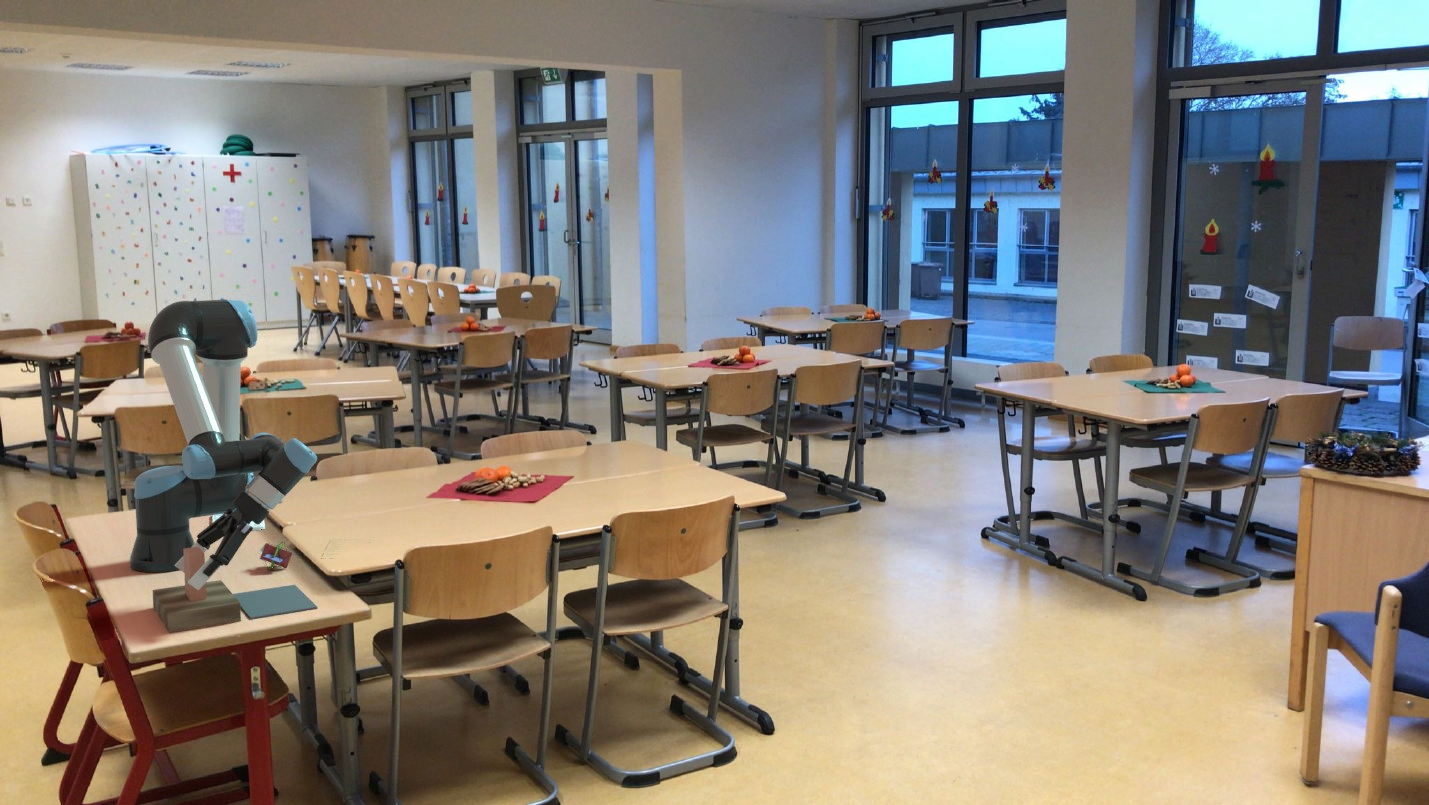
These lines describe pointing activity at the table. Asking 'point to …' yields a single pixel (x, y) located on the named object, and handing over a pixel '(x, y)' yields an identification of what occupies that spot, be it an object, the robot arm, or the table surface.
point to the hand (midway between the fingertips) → (185, 577)
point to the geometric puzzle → (275, 555)
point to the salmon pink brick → (193, 572)
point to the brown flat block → (196, 607)
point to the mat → (274, 601)
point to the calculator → (255, 526)
